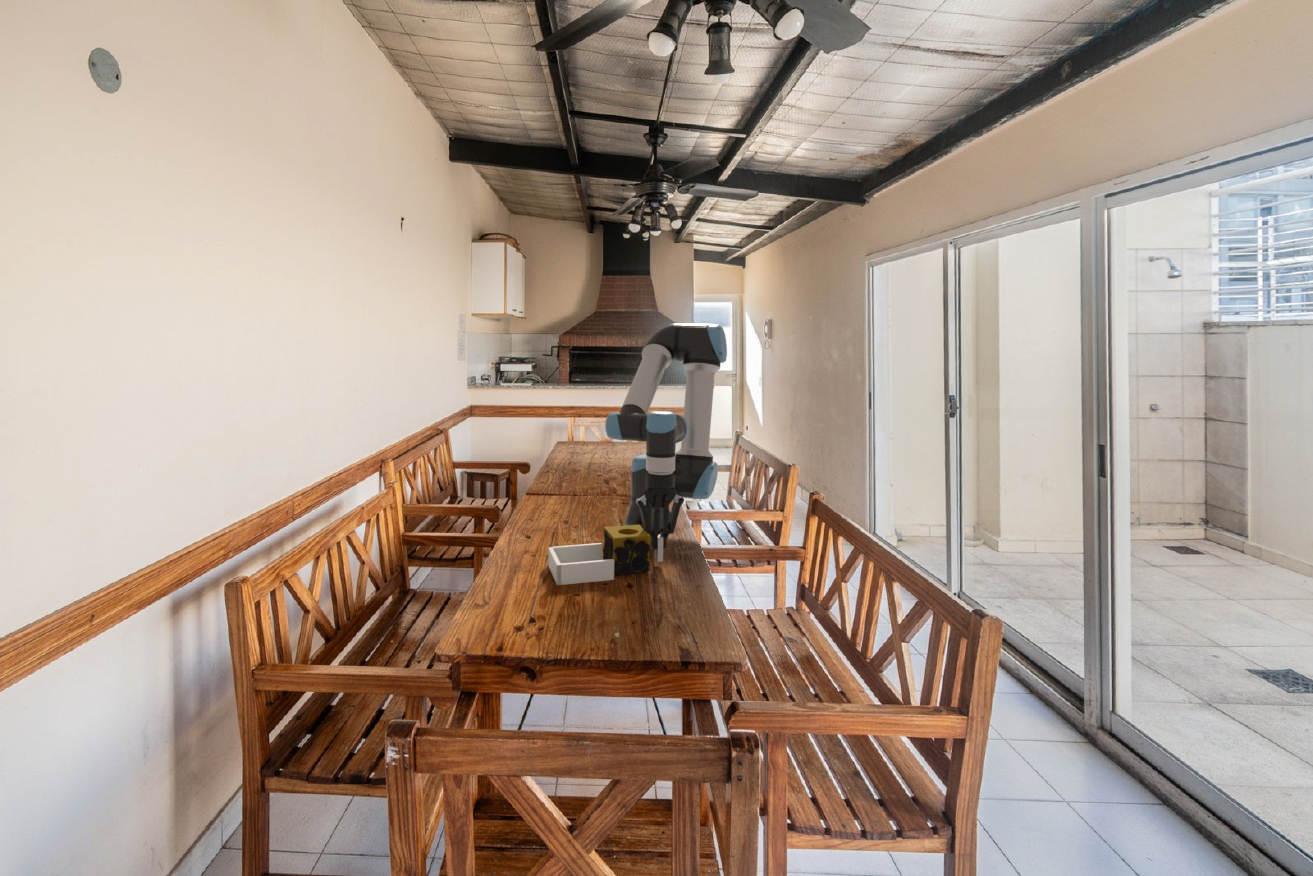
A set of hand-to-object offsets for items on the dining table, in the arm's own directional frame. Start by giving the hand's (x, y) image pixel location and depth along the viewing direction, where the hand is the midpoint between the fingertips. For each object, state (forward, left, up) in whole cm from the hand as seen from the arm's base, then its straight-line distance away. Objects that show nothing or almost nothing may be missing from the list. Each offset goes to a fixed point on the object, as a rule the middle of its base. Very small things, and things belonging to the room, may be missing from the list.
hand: (658, 560), depth 167 cm
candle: (+9, -2, -2) cm, 9 cm away
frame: (+20, -4, -2) cm, 20 cm away
